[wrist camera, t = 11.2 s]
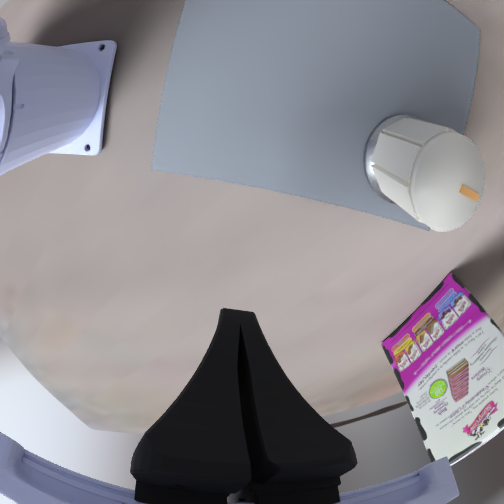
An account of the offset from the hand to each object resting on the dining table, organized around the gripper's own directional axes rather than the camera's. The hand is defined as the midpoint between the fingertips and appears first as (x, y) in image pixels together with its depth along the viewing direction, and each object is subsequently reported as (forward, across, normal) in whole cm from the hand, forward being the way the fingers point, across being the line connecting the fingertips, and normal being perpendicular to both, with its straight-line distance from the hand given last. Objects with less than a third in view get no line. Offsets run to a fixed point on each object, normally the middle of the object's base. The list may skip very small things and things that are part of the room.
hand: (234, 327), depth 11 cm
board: (+9, -4, -13) cm, 17 cm away
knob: (+8, -10, -8) cm, 15 cm away
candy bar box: (+10, -22, +6) cm, 25 cm away
